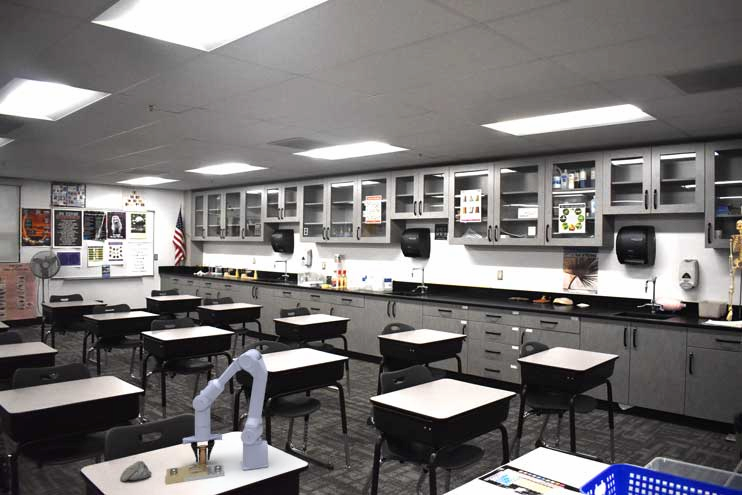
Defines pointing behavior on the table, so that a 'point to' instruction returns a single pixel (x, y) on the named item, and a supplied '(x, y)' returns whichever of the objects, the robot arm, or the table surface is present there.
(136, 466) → the gray rock
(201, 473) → the wooden peg board
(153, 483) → the table surface
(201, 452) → the pin
